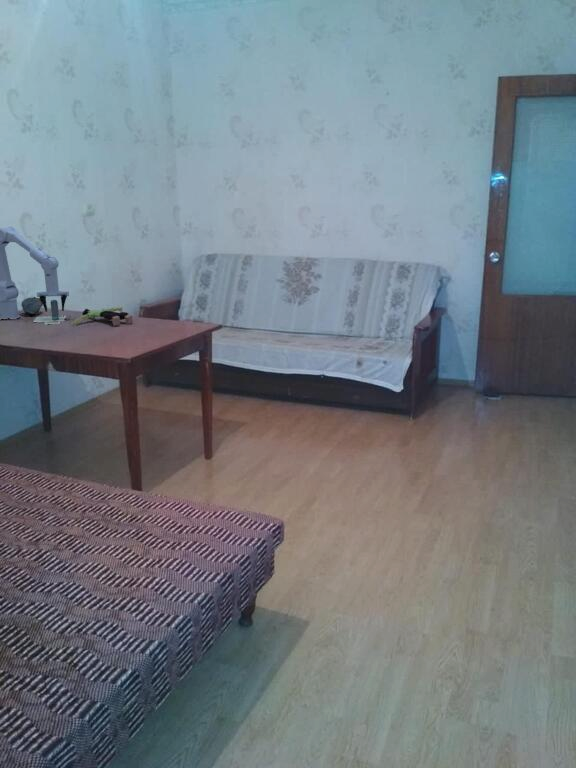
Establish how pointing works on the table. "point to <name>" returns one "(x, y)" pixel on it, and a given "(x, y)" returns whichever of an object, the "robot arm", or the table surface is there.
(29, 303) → the rock
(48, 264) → the robot arm
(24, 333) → the table surface
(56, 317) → the marker
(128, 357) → the table surface
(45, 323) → the plate
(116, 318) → the toy
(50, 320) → the paper
